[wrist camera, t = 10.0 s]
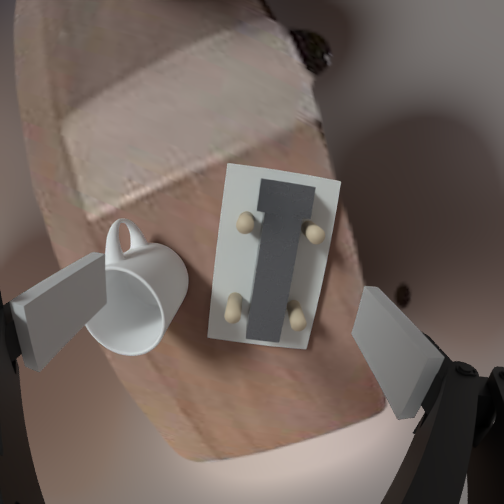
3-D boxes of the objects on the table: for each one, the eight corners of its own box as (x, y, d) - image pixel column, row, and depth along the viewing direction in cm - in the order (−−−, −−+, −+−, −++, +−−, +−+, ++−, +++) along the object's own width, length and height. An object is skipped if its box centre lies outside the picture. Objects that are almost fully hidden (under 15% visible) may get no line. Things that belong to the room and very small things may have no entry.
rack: (228, 163, 31) (223, 160, 26) (338, 181, 32) (354, 182, 26) (208, 332, 36) (201, 357, 30) (304, 344, 36) (312, 370, 31)
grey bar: (260, 178, 30) (261, 178, 27) (308, 186, 31) (315, 187, 27) (240, 320, 34) (238, 338, 30) (283, 326, 34) (286, 343, 30)
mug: (174, 204, 32) (139, 216, 22) (197, 305, 35) (177, 353, 25) (108, 220, 33) (57, 237, 22) (133, 313, 36) (97, 357, 25)
